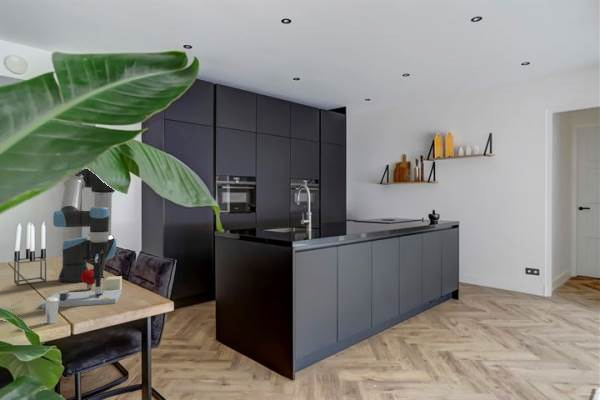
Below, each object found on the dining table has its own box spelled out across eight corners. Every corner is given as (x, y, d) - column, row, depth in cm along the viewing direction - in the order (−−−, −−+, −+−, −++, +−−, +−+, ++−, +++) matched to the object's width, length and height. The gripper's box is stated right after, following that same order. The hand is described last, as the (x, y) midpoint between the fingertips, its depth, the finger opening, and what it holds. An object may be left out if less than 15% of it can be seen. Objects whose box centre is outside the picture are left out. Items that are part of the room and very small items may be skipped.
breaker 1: (61, 298, 157) (61, 291, 157) (68, 297, 158) (68, 290, 158) (59, 299, 155) (59, 292, 155) (66, 299, 155) (66, 292, 155)
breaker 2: (97, 293, 165) (97, 286, 165) (103, 293, 166) (103, 286, 166) (95, 295, 163) (95, 288, 163) (101, 294, 163) (102, 288, 163)
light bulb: (88, 292, 176) (88, 271, 176) (76, 291, 178) (76, 271, 178) (102, 287, 186) (102, 268, 186) (90, 286, 187) (91, 267, 187)
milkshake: (55, 324, 130) (55, 297, 130) (41, 324, 131) (41, 296, 131) (64, 320, 135) (64, 294, 135) (50, 320, 135) (50, 293, 135)
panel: (53, 297, 165) (54, 293, 165) (121, 293, 175) (121, 289, 175) (40, 308, 149) (40, 303, 149) (115, 303, 159) (115, 298, 159)
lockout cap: (107, 290, 180) (108, 276, 180) (121, 289, 182) (121, 276, 182) (105, 293, 174) (105, 279, 174) (119, 292, 176) (119, 278, 176)
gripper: (92, 239, 167) (92, 290, 167) (86, 243, 155) (85, 297, 155) (110, 239, 170) (110, 289, 170) (105, 242, 157) (105, 296, 157)
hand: (98, 293), depth 162 cm, fingers closed
